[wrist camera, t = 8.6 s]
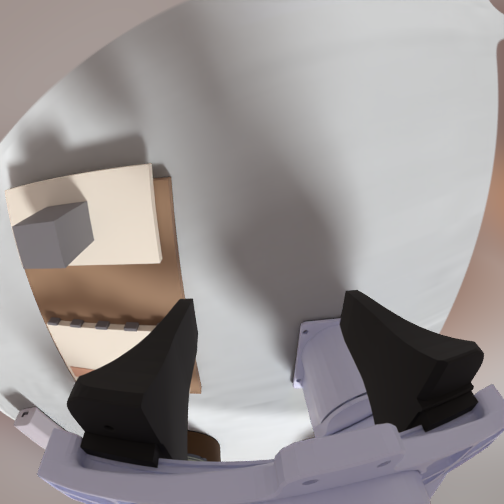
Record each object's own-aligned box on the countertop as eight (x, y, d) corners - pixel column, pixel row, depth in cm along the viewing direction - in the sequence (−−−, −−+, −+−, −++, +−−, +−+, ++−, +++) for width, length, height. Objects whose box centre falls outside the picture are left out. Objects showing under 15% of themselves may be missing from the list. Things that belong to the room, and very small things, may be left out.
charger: (74, 450, 38) (20, 409, 33) (97, 450, 37) (37, 405, 31) (69, 467, 34) (12, 425, 28) (92, 469, 33) (28, 424, 27)
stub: (162, 258, 20) (143, 297, 15) (26, 262, 19) (-6, 291, 15) (151, 163, 17) (122, 175, 12) (10, 188, 16) (-30, 206, 12)
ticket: (190, 387, 27) (189, 394, 26) (78, 377, 26) (76, 382, 25) (175, 323, 23) (173, 329, 22) (48, 316, 22) (44, 322, 21)
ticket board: (201, 386, 28) (200, 393, 27) (78, 375, 27) (75, 381, 26) (171, 177, 19) (168, 179, 18) (14, 199, 18) (7, 202, 17)
